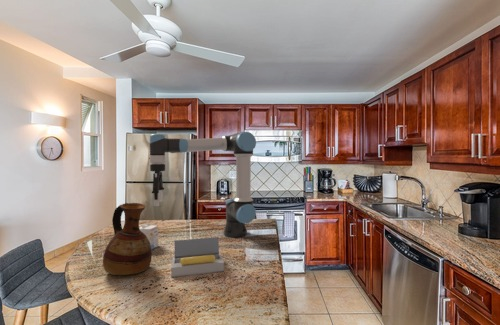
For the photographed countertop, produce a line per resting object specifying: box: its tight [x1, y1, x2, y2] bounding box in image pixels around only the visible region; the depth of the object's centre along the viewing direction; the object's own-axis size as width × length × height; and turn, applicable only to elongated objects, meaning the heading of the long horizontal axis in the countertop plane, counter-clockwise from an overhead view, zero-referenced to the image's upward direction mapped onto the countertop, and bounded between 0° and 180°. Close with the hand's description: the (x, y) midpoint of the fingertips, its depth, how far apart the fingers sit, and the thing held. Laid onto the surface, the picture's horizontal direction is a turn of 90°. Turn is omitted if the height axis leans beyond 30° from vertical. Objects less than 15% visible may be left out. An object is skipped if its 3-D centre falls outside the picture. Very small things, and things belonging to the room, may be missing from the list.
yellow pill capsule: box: [180, 255, 215, 265], centre depth 117 cm, size 15×3×3 cm, turn 103°
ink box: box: [139, 222, 159, 251], centre depth 151 cm, size 9×8×13 cm
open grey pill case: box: [170, 251, 225, 278], centre depth 121 cm, size 22×14×4 cm, turn 103°
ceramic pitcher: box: [102, 202, 153, 276], centre depth 119 cm, size 20×20×30 cm
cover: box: [174, 236, 220, 259], centre depth 125 cm, size 20×8×1 cm
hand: (158, 203), depth 143 cm, fingers open, 13 cm apart
